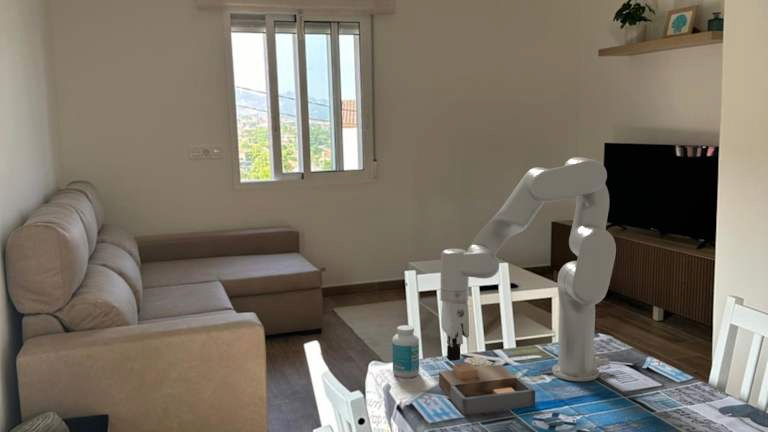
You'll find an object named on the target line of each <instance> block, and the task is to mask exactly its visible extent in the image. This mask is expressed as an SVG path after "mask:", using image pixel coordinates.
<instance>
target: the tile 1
mask: <svg viewBox="0 0 768 432" xmlns="http://www.w3.org/2000/svg"><path fill="white" fill-rule="evenodd" d="M476 367H477V366H475V365H474V364H473V363H471V362H467V363H460V364H459V363H458V364H453V369H452V370H453V372H454V373H455V374H456V375H457V376H458V377H459V378H460V379H463V378H472V377H478V369H477V368H476Z"/></svg>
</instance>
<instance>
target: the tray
mask: <svg viewBox="0 0 768 432" xmlns="http://www.w3.org/2000/svg"><path fill="white" fill-rule="evenodd" d="M449 400H450V402H451V403H452V404H453V406H454V407H455V408H456V409H457V410H458V412H459V413H461V415H462V416H469V415H470V416H471V415H477V414H485V413H492V412H501V411H507V410H514V409H516V410H517V409H522V408H523V409H524V408H529V407H535V406H536V390H535V389H534V388H533V387H532V386H531V385H529V384H528V383H527V382H525V381H524V380H523V379H522V378H521V377H517V378H516V390H515V391H514V392H507V393H499V394H493V393H492V394H484V395H476V396H468V397H465V396H464V395H463V394H462V393H461V392H460V391H459V390H458V389H457V388H456V387H455V386H450V398H449Z"/></svg>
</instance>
